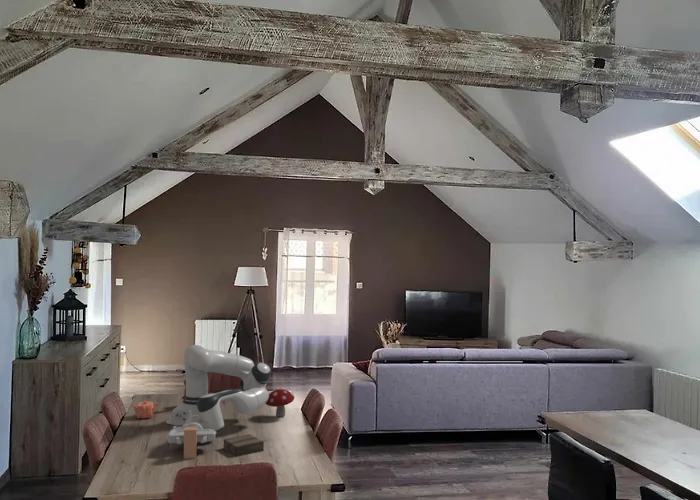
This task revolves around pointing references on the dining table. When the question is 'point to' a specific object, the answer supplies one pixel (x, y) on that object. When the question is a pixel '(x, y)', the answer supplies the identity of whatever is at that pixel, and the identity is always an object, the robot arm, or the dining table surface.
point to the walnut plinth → (243, 445)
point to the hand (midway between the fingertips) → (191, 441)
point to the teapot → (145, 409)
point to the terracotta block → (190, 442)
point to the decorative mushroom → (280, 400)
